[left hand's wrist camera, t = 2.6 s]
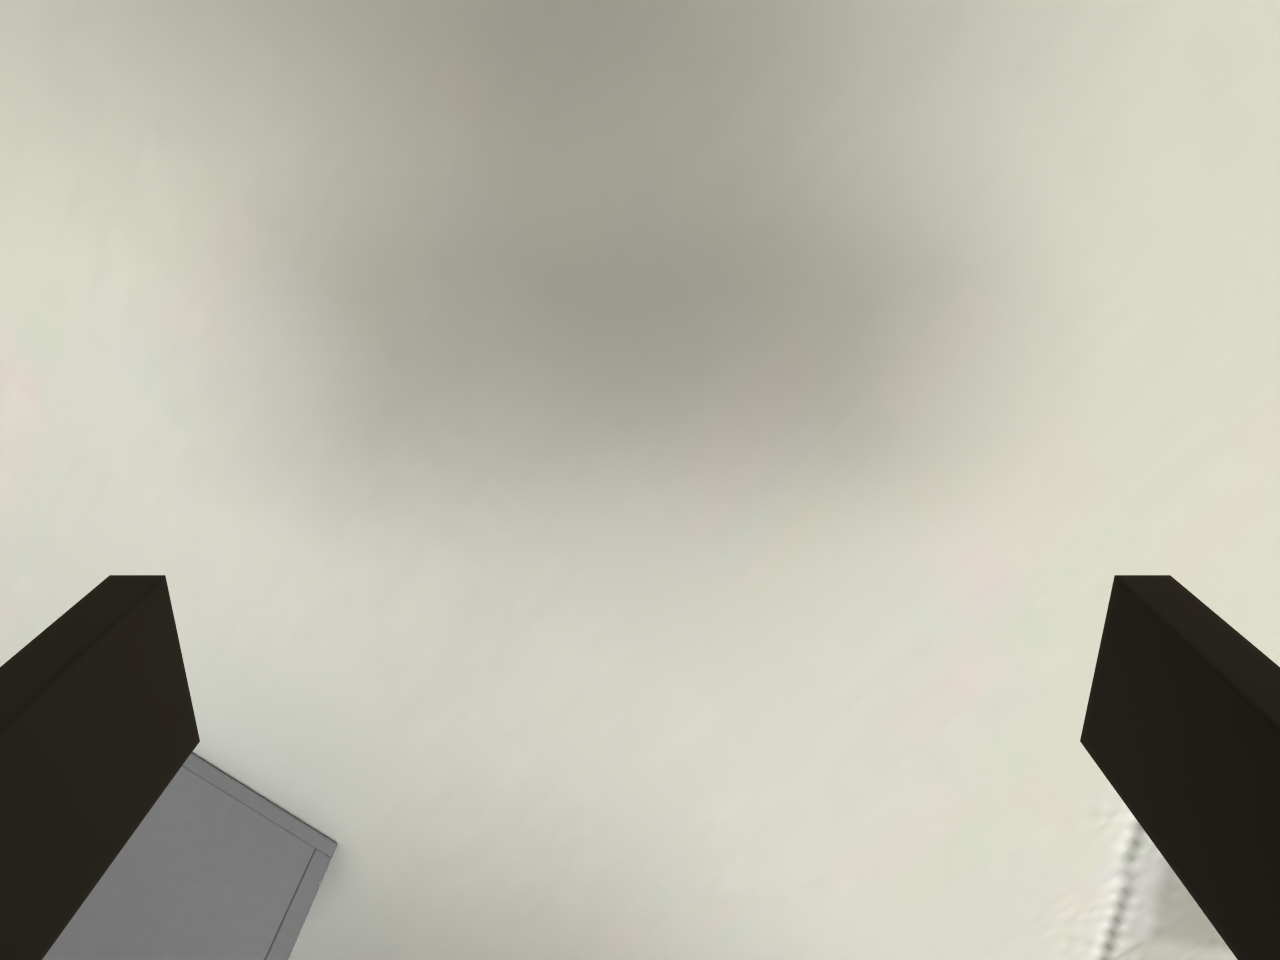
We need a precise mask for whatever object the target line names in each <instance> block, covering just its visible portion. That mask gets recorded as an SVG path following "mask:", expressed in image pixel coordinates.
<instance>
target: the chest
mask: <svg viewBox="0 0 1280 960" xmlns="http://www.w3.org/2000/svg"><path fill="white" fill-rule="evenodd" d="M336 846H337V844H336V843H334V842H333V841H331V840H330V839H328V838H326V837H325V836H323V835H322V834H320V833H318V832H317V831H315V830H314V829H312V828H310V827H309V826H307V825H306V824H304V823H302V822H301V821H299V820H298V819H296V818H294V817H293V816H291V815H290V814H288V813H286V812H285V811H283V810H282V809H280V808H278V807H277V806H275V805H274V804H272V803H270V802H269V801H267V800H265V799H264V798H262V797H261V796H259V795H257V794H256V793H254V792H253V791H251V790H249V789H248V788H246V787H245V786H243V785H241V784H240V783H238V782H237V781H235V780H233V779H232V778H230V777H229V776H227V775H225V774H224V773H222V772H221V771H219V770H217V769H216V768H214V767H213V766H211V765H209V764H208V763H206V762H205V761H203V760H201V759H200V758H198V757H197V756H195V755H193V754H192V753H191V754H190V755H189V757H188V758H187V760H186V761H185V762H184V764H183V765H182V767H181V768H180V769H179V771H178V772H177V773H176V775H175V776H174V778H173V779H172V780H171V782H170V783H169V785H168V786H167V787H166V789H165V790H164V792H163V793H162V794H161V796H160V797H159V798H158V800H157V801H156V803H155V804H154V805H153V807H152V808H151V810H150V811H149V812H148V814H147V815H146V816H145V818H144V819H143V821H142V822H141V823H140V825H139V826H138V828H137V829H136V830H135V832H134V833H133V834H132V836H131V837H130V839H129V840H128V841H127V843H126V844H125V846H124V847H123V848H122V850H121V851H120V853H119V854H118V855H117V857H116V858H115V859H114V861H113V862H112V864H111V865H110V866H109V868H108V869H107V871H106V872H105V873H104V875H103V876H102V877H101V879H100V880H99V882H98V883H97V884H96V886H95V887H94V889H93V890H92V891H91V893H90V894H89V896H88V897H87V898H86V900H85V901H84V902H83V904H82V905H81V907H80V908H79V909H78V911H77V912H76V914H75V915H74V916H73V918H72V919H71V920H70V922H69V923H68V925H67V926H66V927H65V929H64V930H63V932H62V933H61V934H60V936H59V937H58V938H57V940H56V941H55V943H54V944H53V945H52V947H51V948H50V950H49V951H48V952H47V954H46V955H45V957H44V958H43V959H42V960H288V959H289V956H290V954H291V952H292V949H293V947H294V945H295V942H296V940H297V938H298V935H299V933H300V931H301V928H302V926H303V924H304V921H305V919H306V917H307V914H308V912H309V910H310V907H311V905H312V902H313V900H314V898H315V895H316V893H317V891H318V888H319V886H320V884H321V881H322V879H323V877H324V874H325V872H326V870H327V867H328V865H329V863H330V859H331V858H332V856H333V853H334V851H335V849H336Z"/></svg>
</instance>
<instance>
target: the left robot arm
mask: <svg viewBox="0 0 1280 960" xmlns="http://www.w3.org/2000/svg"><path fill="white" fill-rule="evenodd" d="M199 742H200V740H199V735H198V730H197V725H196V721H195V716H194V711H193V706H192V701H191V697H190V692H189V687H188V682H187V677H186V673H185V668H184V663H183V658H182V653H181V649H180V644H179V639H178V634H177V630H176V625H175V620H174V615H173V610H172V606H171V601H170V596H169V591H168V586H167V582H166V577H165V575H110V576H109V577H107V578H106V579H105V580H104V581H103V582H101V583H100V584H99V585H98V586H97V587H95V588H94V589H93V590H92V591H91V592H90V593H88V594H87V595H86V596H85V597H84V598H82V599H81V600H80V601H79V602H78V603H76V604H75V605H74V606H73V607H72V608H70V609H69V610H68V611H67V612H66V613H64V614H63V615H62V616H61V617H60V618H59V619H57V620H56V621H55V622H54V623H53V624H51V625H50V626H49V627H48V628H47V629H45V630H44V631H43V632H42V633H41V634H39V635H38V636H37V637H36V638H35V639H33V640H32V641H31V642H30V643H29V644H28V645H26V646H25V647H24V648H23V649H22V650H20V651H19V652H18V653H17V654H16V655H14V656H13V657H12V658H11V659H10V660H8V661H7V662H6V663H5V664H4V665H2V666H1V667H0V960H42V959H43V958H44V957H45V955H46V954H47V952H48V951H49V950H50V948H51V947H52V945H53V944H54V943H55V941H56V940H57V938H58V937H59V936H60V934H61V933H62V932H63V930H64V929H65V927H66V926H67V925H68V923H69V922H70V920H71V919H72V918H73V916H74V915H75V914H76V912H77V911H78V909H79V908H80V907H81V905H82V904H83V902H84V901H85V900H86V898H87V897H88V896H89V894H90V893H91V891H92V890H93V889H94V887H95V886H96V884H97V883H98V882H99V880H100V879H101V877H102V876H103V875H104V873H105V872H106V871H107V869H108V868H109V866H110V865H111V864H112V862H113V861H114V859H115V858H116V857H117V855H118V854H119V853H120V851H121V850H122V848H123V847H124V846H125V844H126V843H127V841H128V840H129V839H130V837H131V836H132V834H133V833H134V832H135V830H136V829H137V828H138V826H139V825H140V823H141V822H142V821H143V819H144V818H145V816H146V815H147V814H148V812H149V811H150V810H151V808H152V807H153V805H154V804H155V803H156V801H157V800H158V798H159V797H160V796H161V794H162V793H163V792H164V790H165V789H166V787H167V786H168V785H169V783H170V782H171V780H172V779H173V778H174V776H175V775H176V773H177V772H178V771H179V769H180V768H181V767H182V765H183V764H184V762H185V761H186V760H187V758H188V757H189V755H190V754H191V753H192V751H193V750H194V749H195V747H196V746H197V744H198V743H199ZM1080 742H1081V743H1082V744H1083V746H1084V747H1085V749H1086V750H1087V751H1088V753H1089V754H1090V755H1091V757H1092V758H1093V760H1094V761H1095V762H1096V764H1097V765H1098V767H1099V768H1100V769H1101V771H1102V772H1103V773H1104V775H1105V776H1106V778H1107V779H1108V780H1109V782H1110V783H1111V785H1112V786H1113V787H1114V789H1115V790H1116V792H1117V793H1118V794H1119V796H1120V797H1121V798H1122V800H1123V801H1124V803H1125V804H1126V805H1127V807H1128V808H1129V810H1130V811H1131V812H1132V814H1133V815H1134V816H1135V818H1136V819H1137V821H1138V822H1139V823H1140V825H1141V826H1142V828H1143V829H1144V830H1145V832H1146V833H1147V834H1148V836H1149V837H1150V839H1151V840H1152V841H1153V843H1154V844H1155V846H1156V847H1157V848H1158V850H1159V851H1160V853H1161V854H1162V855H1163V857H1164V858H1165V859H1166V861H1167V862H1168V864H1169V865H1170V866H1171V868H1172V869H1173V871H1174V872H1175V873H1176V875H1177V876H1178V877H1179V879H1180V880H1181V882H1182V883H1183V884H1184V886H1185V887H1186V889H1187V890H1188V891H1189V893H1190V894H1191V896H1192V897H1193V898H1194V900H1195V901H1196V902H1197V904H1198V905H1199V907H1200V908H1201V909H1202V911H1203V912H1204V914H1205V915H1206V916H1207V918H1208V919H1209V920H1210V922H1211V923H1212V925H1213V926H1214V927H1215V929H1216V930H1217V932H1218V933H1219V934H1220V936H1221V937H1222V938H1223V940H1224V941H1225V943H1226V944H1227V945H1228V947H1229V948H1230V950H1231V951H1232V952H1233V954H1234V955H1235V957H1236V958H1237V959H1238V960H1280V667H1279V666H1278V665H1276V664H1275V663H1274V662H1273V661H1272V660H1270V659H1269V658H1268V657H1267V656H1266V655H1264V654H1263V653H1262V652H1261V651H1260V650H1258V649H1257V648H1256V647H1255V646H1254V645H1252V644H1251V643H1250V642H1249V641H1248V640H1247V639H1245V638H1244V637H1243V636H1242V635H1241V634H1239V633H1238V632H1237V631H1236V630H1235V629H1233V628H1232V627H1231V626H1230V625H1229V624H1227V623H1226V622H1225V621H1224V620H1223V619H1221V618H1220V617H1219V616H1218V615H1217V614H1216V613H1214V612H1213V611H1212V610H1211V609H1210V608H1208V607H1207V606H1206V605H1205V604H1204V603H1202V602H1201V601H1200V600H1199V599H1198V598H1196V597H1195V596H1194V595H1193V594H1192V593H1190V592H1189V591H1188V590H1187V589H1186V588H1185V587H1183V586H1182V585H1181V584H1180V583H1179V582H1177V581H1176V580H1175V579H1174V578H1173V577H1171V576H1170V575H1115V577H1114V582H1113V586H1112V591H1111V596H1110V601H1109V606H1108V610H1107V615H1106V620H1105V625H1104V629H1103V634H1102V639H1101V644H1100V649H1099V653H1098V658H1097V663H1096V668H1095V673H1094V677H1093V682H1092V687H1091V692H1090V697H1089V701H1088V706H1087V711H1086V716H1085V721H1084V725H1083V730H1082V735H1081V740H1080Z"/></svg>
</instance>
